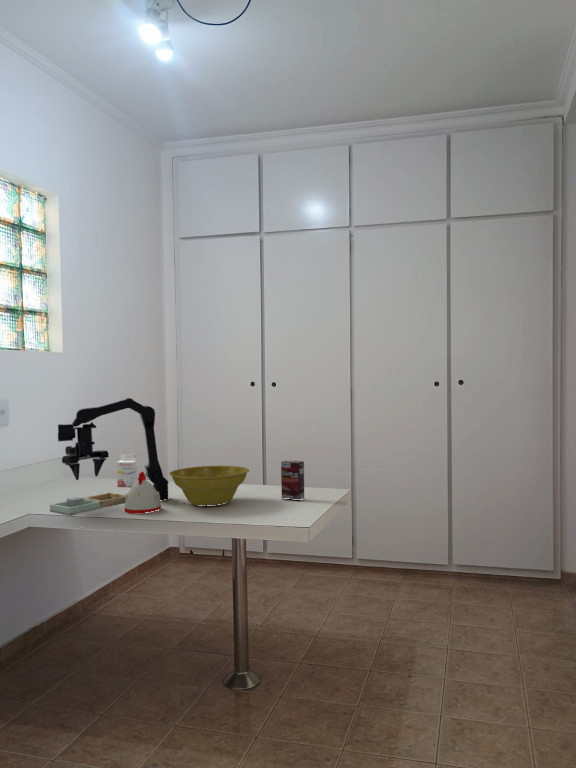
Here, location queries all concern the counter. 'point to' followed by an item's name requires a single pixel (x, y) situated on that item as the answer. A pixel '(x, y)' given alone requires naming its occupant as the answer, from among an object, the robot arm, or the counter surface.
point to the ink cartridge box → (127, 470)
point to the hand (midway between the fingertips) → (86, 478)
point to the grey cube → (75, 502)
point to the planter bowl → (209, 483)
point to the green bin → (64, 509)
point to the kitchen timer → (142, 497)
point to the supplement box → (292, 479)
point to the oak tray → (107, 499)
